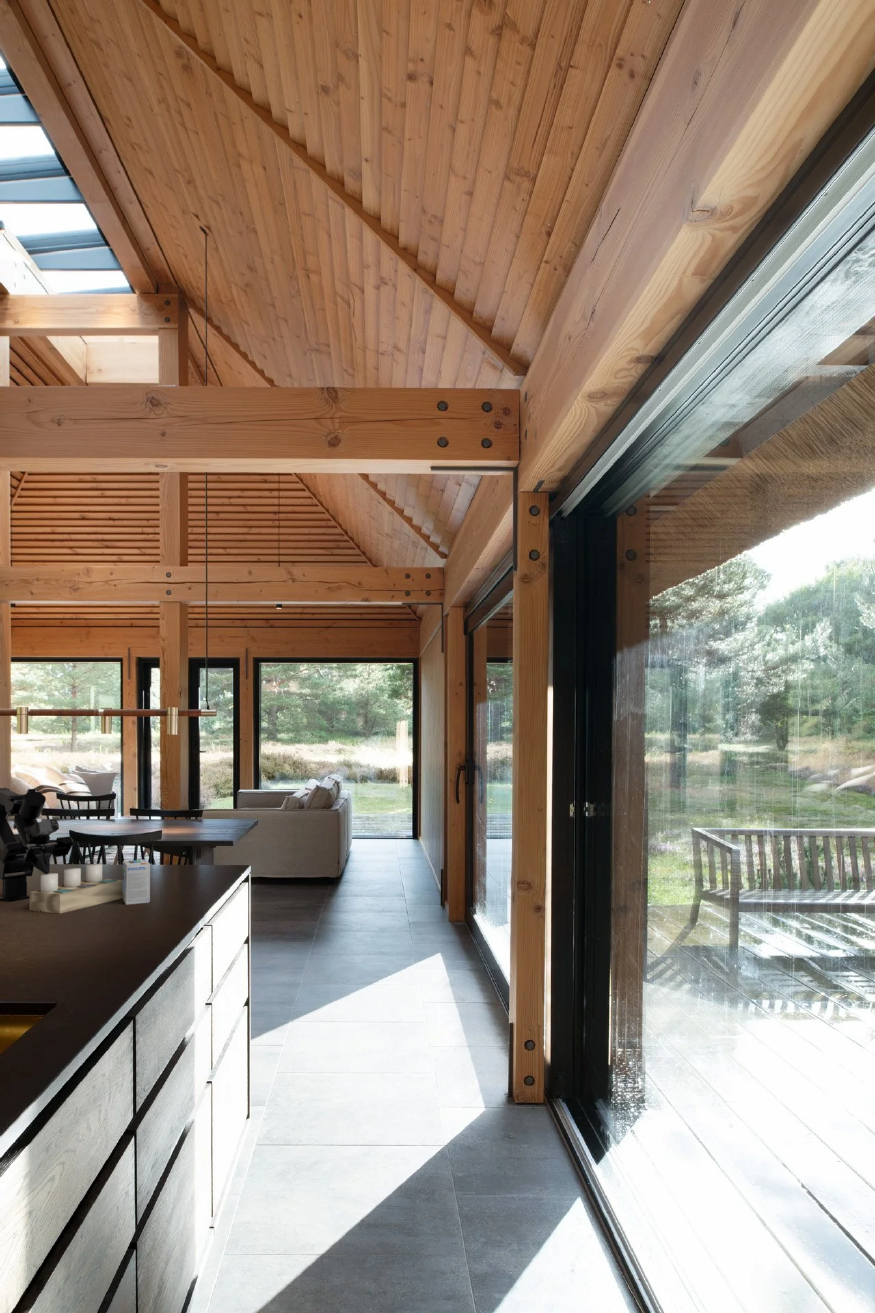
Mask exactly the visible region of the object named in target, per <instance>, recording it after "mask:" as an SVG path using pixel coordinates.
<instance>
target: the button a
mask: <svg viewBox="0 0 875 1313" xmlns="http://www.w3.org/2000/svg"><path fill="white" fill-rule="evenodd" d="M58 886H59V873H58V872H49V874H44V873H42V874H40V889H41V891H40V892H46V893H49V892H53V891H57V890H58Z"/></svg>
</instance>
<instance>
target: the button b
mask: <svg viewBox="0 0 875 1313" xmlns="http://www.w3.org/2000/svg"><path fill="white" fill-rule="evenodd" d="M81 876H82V868H81V867H69V868H64V869H63V885H64V887H70V888H73V887H76V886H80V885H81V881H82V878H81Z"/></svg>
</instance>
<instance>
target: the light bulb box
mask: <svg viewBox="0 0 875 1313" xmlns="http://www.w3.org/2000/svg"><path fill="white" fill-rule="evenodd" d="M121 878H122V879H121V880H122V901H123V902H124V904H125V905H126V906H127V905H138V904H149V902H151V863H149V861H148V860H147V859H135V860H123V861H122V877H121Z"/></svg>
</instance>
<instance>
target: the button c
mask: <svg viewBox="0 0 875 1313" xmlns="http://www.w3.org/2000/svg"><path fill="white" fill-rule="evenodd" d="M102 879H103V864H102V863H91V864H86V865H85V880H86V882H89V883H96V882H99V881H102Z"/></svg>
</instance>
